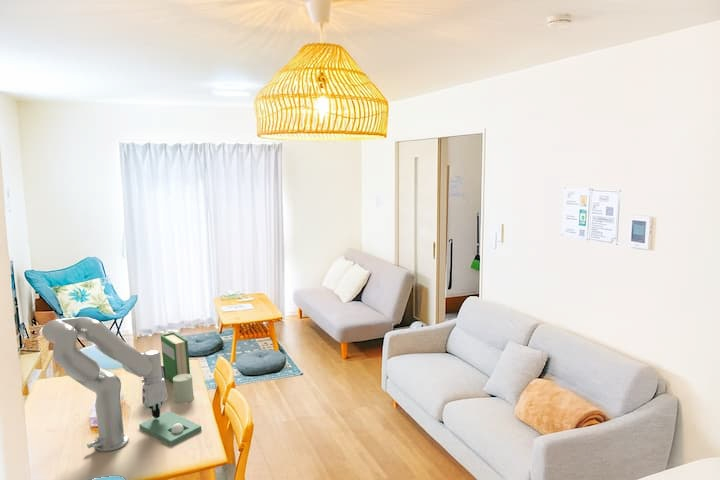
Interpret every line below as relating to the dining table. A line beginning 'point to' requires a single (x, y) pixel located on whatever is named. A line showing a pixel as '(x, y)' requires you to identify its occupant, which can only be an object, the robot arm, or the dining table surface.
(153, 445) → the dining table surface
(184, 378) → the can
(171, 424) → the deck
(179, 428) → the ball
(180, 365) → the hardback book
